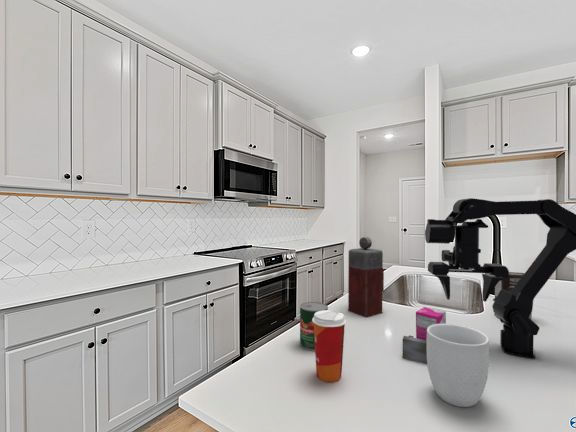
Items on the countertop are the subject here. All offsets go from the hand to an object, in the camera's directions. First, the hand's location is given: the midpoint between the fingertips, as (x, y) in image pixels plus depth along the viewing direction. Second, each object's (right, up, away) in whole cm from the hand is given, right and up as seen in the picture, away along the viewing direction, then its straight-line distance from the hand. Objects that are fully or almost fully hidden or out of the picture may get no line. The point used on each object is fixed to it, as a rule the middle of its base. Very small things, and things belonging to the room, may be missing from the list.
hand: (466, 300), depth 84 cm
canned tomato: (-42, -13, +2) cm, 44 cm away
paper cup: (-40, -13, -15) cm, 45 cm away
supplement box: (-12, -13, -4) cm, 18 cm away
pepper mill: (-19, -13, +30) cm, 38 cm away
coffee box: (+29, -13, +22) cm, 39 cm away
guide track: (-12, -13, -4) cm, 18 cm away
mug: (-15, -14, -22) cm, 30 cm away
